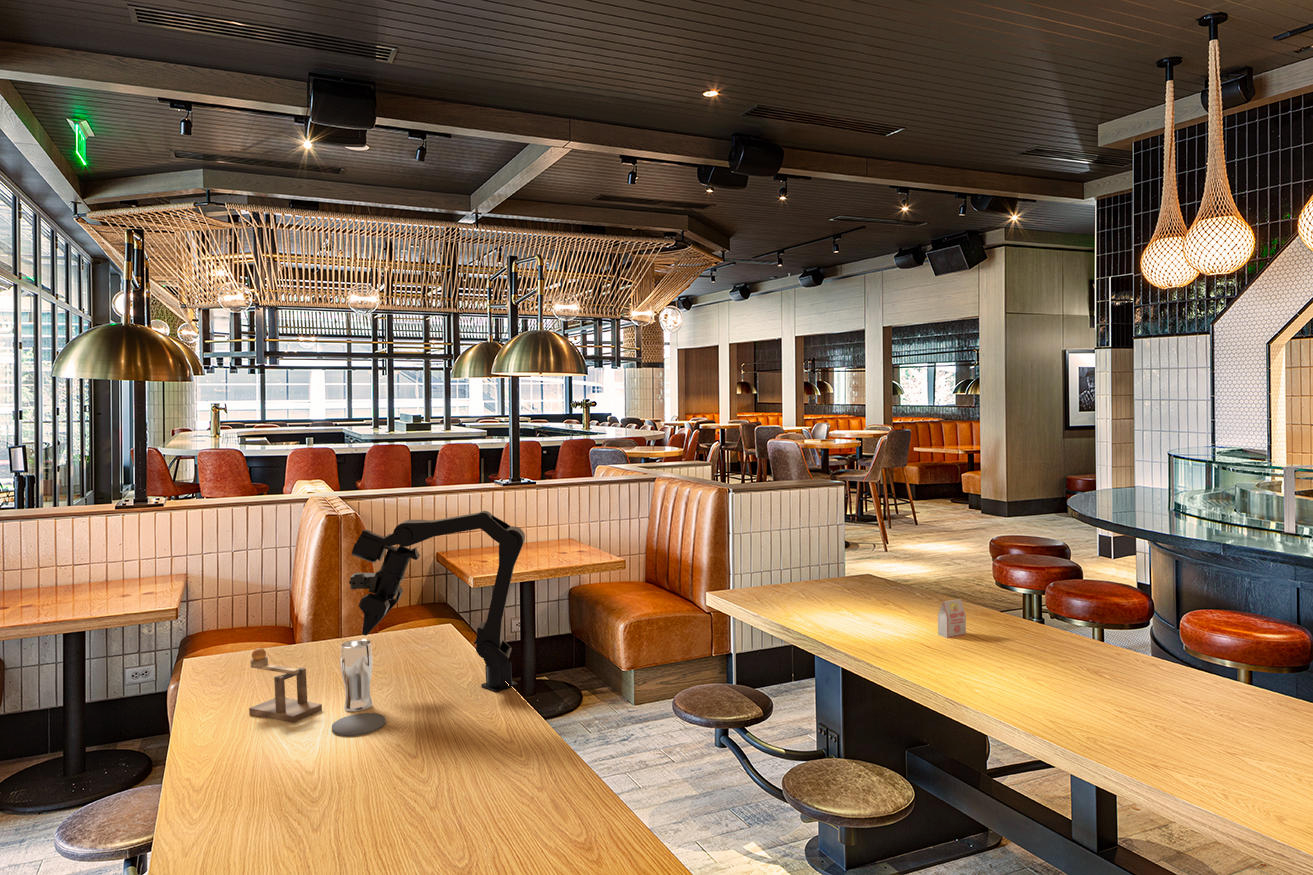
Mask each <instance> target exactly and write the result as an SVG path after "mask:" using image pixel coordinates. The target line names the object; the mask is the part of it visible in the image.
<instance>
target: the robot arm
mask: <svg viewBox="0 0 1313 875" xmlns="http://www.w3.org/2000/svg"><path fill="white" fill-rule="evenodd" d="M478 529H479V530H482V531H483V532H484V533H486V534H487V536H489V537H490V538H491V539H492V540H493V541H494V542H495V541H496V543H498V568H497V572H496V576H495V577H496V578H495V582H494V584H493V591H492V595H491V600H490V605H489V609H488V613H487V618H486V620H485V622H483V621H480V622H479V623H478V625H477V628H476V638H475V640H474V642H473V645H475V650H476V651H475V652H476V653H477V655H478V656H479V657H481V658H482V659H483V661H484V663H485V682H484V683H481V685H480V686H481V687H483V688H485V689H488V690H489V691H493V692H500V691H502V690H506V689H509V688H512V687H515V686H517V685H518V682H516V681H513V679H512V674H513V673H512V661H511V659H510V655H511V652H512V647H511V645H509V644H508V643H507V642H506V641H505V640H503V638H504V637H503V636H504V615H505V612H506V611H505V610H506V605H507V601H508V596H509V592H510V587H511V582H512V578H513V573H514V570H515V565H516V563H517V561H518V558H519V556H520V553H521V550H522V548H523V546H524V543H525V541H526V534H525V532H524V531H523V529H521V528H520V527H518V526H516V525H515V526H512V525H510V524H508V523H507V522H505V521H503V520H502V519H500V518H499V517H496V516H494V515H493V514H492V513H491V512H489V511H487V510H481V511H479V512H475V513H470V514H463V515H458V516H451V517H446V518H441V519H430V520H428V519H407V520H403V521H402V522H401V523H399V524H397V525H396V526H395V528H394V529H393V532H392V533H388V534H387V535H385V536H382V535H380V534H377V533H374V532H373V531H371V530H369V529H364V530H362V531H361V532H360V533H361V534H360V535H359V537H358V539H357V540H356V542H355V543H354V545H353V548H352V550H351V556H353V557H356V558H359V559H361V560H364V561H366V562H369V563H371V564H375V563H376V562H377V561H378V562H381V561H382V560H383V562H382V564H381V566H380V568H379V570H378V571H376V572H354V573H353V574H352V575H350V580H349V581H348V584H349V585H350V588H349V589H350V590H354V591H355V590H358V589H359V590H360V589H361V590H368V591H367V592H368V594H365V595H364V596H363V597H362V598H360V601H359V603H358V607H359V610H361V611H362V613H363V623H362V624H363V625H362V630H361V631H362V633H361V634H362V635H363V636H366V637H367V636H369V634H370V633H371V632H372V630H373V629H374V628H375V627H376V626H377V625H378V624H379V623H380V622H381V621H382V620H383V619H384V617H385V616H387V615H388V613H389V612H390V611H391V610H392V609H393V608H394V606H395V605H396V604H397V603H398V602H399V601H400V599H401V598H402V595H403V593H404V590H403V588H402V586H401V583H402V582H403V581H404V580H405V573H406V570H407V568H408V566H409V563H410V562H411V559H412V560H415V561H417V560H418V559H419V558H420V557H421V554H420V553H419V551H418V548H417V547H416V546H415V547H413V548H409V547H411V546H413V545H416V544H418V543H422V542H424V541H426V540H428V539H432V538H434V537H439V536H440V537H441V536H444V535H445V536H446V535H451V534H458V533H462V532H468V531H475V530H478ZM396 545H397V546H396ZM398 545H399V546H398ZM383 558H384V559H383ZM505 681H506V682H507V683H508V684H509V686H510V687H509V686H508V684H507V683H506V682H505Z"/></svg>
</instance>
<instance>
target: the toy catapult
mask: <svg viewBox="0 0 1313 875" xmlns="http://www.w3.org/2000/svg"><path fill="white" fill-rule="evenodd" d="M266 655H267V652H266V650H265V649H264V648H262V647H257V648H255V649H254V650H253V651H252V653H251V659H250V668H252V669H258V670H264V671H269V672H274V673H275V672H276V673H282V674H280V675H276V676H274V677H273V678H274V697H273V698H271V699H269V700H266V701H264V702H261V703H258V704H256V705H253V706H251V707H249V708H248V710H249V715H251V716H255V717H261V718H266V719H270V720H275V721H282V722H287V723H291V724H295V723H297V722H299V721H302V720H303V719H306V718H308V717H310V716H312V715H315V714H317V713H320V712H322V711H323V704H322V703H319V702H317V703H316V702H310V701H308V685H307V668H306V667H298V668H292V667H286V666H280V665H275V664H269V660H268V656H266ZM293 677H296V696H297V699H296V698H295V699H294V698H290V697H286V688H285V687H286V686H285V681H286V680H287V679H291V678H293Z"/></svg>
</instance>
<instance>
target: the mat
mask: <svg viewBox="0 0 1313 875" xmlns="http://www.w3.org/2000/svg"><path fill="white" fill-rule="evenodd" d="M385 725H386V717H385V715H383V714H380V713H376V712H375V713H374V712H362V713H355V714H350V715H346V716H344V717H341V718H339V719H337V720H336V721H334V722H333V723H332V725H331V732H332V734H334V735H337V736H341V737H342V736H343V737H356V736H357V737H358V736H362V735H367V734H371V733H374V732H376V731H378V730H380V729H382V728H383V727H384V726H385Z"/></svg>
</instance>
